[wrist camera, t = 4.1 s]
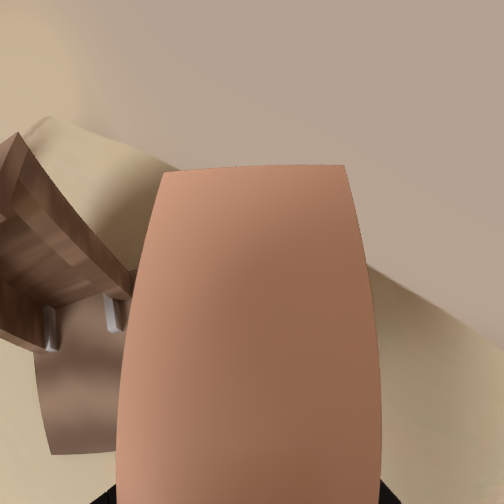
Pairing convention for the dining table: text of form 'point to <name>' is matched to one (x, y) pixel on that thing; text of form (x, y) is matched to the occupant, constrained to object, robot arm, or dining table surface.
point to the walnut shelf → (61, 304)
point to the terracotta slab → (251, 345)
